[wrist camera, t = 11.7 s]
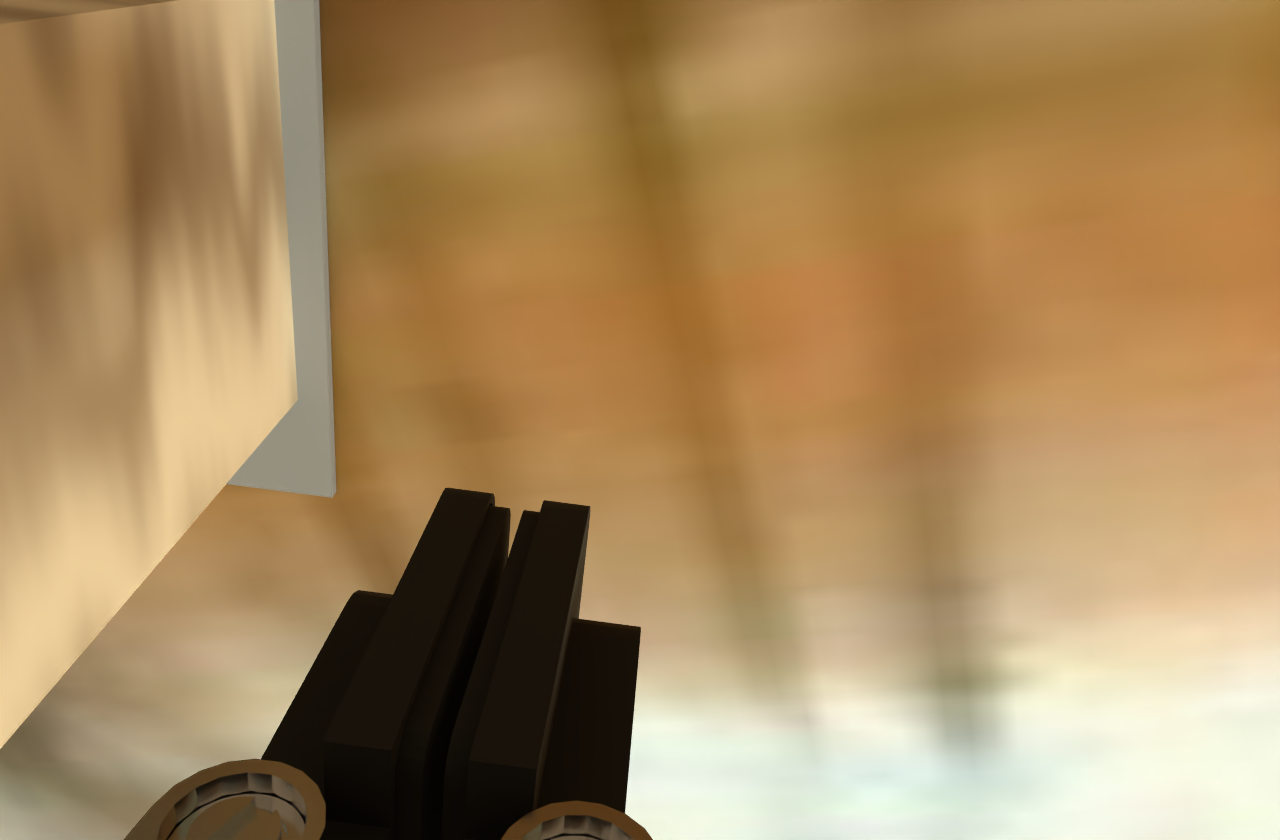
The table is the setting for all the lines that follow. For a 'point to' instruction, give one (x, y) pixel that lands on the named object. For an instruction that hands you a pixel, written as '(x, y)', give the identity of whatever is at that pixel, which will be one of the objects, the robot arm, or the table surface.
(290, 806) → the robot arm
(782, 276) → the table surface
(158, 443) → the slab
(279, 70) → the mat
